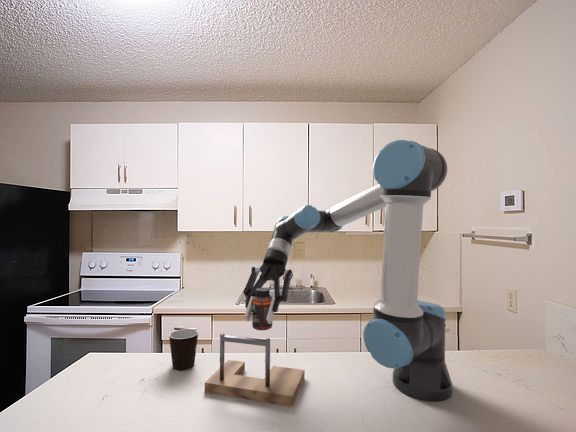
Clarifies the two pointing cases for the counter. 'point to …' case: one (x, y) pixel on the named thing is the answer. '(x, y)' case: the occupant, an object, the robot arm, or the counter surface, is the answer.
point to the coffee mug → (183, 348)
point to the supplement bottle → (261, 309)
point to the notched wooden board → (257, 384)
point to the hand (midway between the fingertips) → (257, 320)
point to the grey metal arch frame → (245, 340)
